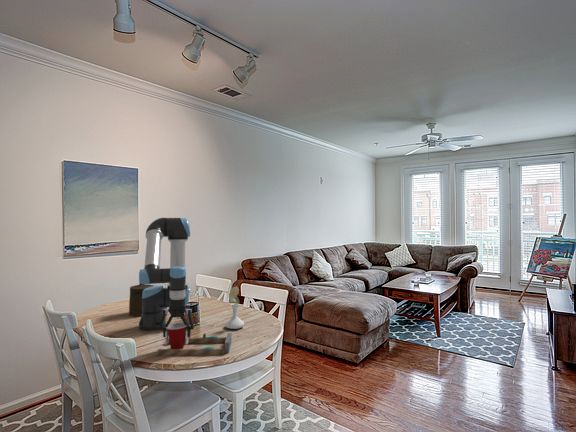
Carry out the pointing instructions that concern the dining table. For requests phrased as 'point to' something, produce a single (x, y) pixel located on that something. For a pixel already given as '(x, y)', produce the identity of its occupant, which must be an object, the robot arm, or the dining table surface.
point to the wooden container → (136, 299)
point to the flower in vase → (234, 311)
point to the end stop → (228, 343)
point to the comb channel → (196, 351)
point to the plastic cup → (176, 335)
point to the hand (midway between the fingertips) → (176, 343)
